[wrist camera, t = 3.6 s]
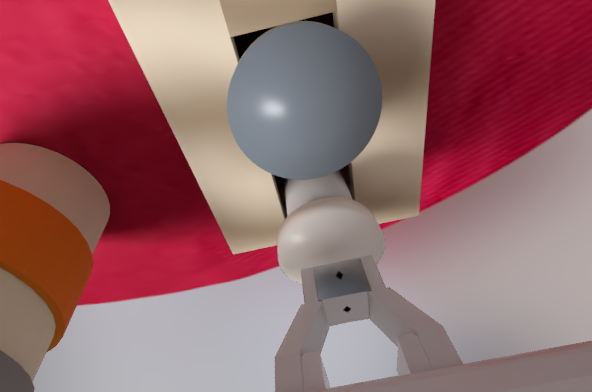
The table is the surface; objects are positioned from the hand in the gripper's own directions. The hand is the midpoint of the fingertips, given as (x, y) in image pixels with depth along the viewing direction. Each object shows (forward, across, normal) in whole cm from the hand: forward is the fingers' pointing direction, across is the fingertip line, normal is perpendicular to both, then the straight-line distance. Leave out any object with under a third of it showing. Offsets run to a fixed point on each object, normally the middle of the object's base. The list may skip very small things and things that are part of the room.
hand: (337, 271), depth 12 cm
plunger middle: (+8, 0, -7) cm, 10 cm away
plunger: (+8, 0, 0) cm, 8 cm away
